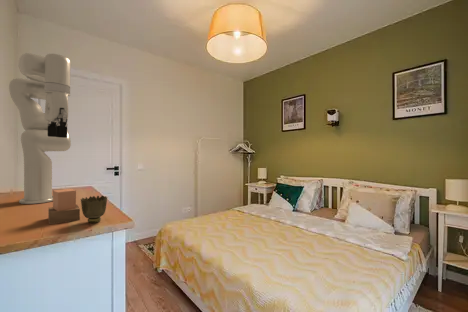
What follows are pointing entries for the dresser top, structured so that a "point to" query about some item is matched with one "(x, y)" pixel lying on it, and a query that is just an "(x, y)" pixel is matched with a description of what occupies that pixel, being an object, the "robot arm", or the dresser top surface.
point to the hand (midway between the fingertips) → (57, 137)
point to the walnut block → (63, 215)
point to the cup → (93, 208)
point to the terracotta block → (64, 199)
